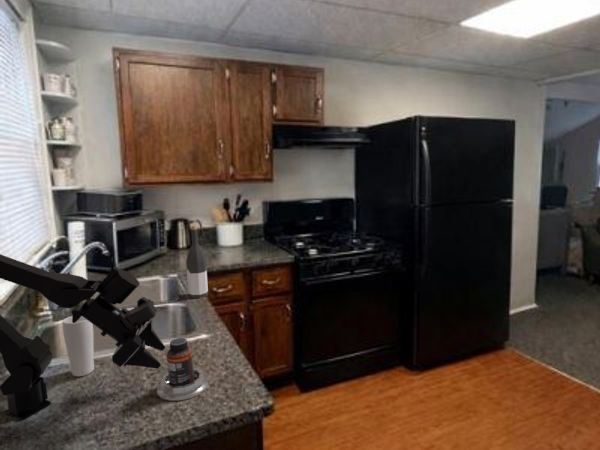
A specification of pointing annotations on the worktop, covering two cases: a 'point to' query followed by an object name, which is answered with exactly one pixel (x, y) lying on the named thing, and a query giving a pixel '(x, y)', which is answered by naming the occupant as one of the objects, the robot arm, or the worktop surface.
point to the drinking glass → (79, 345)
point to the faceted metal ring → (182, 388)
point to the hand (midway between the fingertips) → (161, 357)
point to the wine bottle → (196, 268)
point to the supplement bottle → (180, 363)
